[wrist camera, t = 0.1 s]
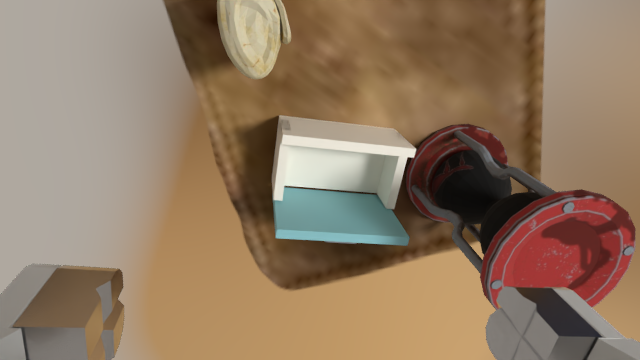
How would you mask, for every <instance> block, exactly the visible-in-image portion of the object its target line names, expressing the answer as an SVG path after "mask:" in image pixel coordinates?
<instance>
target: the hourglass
mask: <svg viewBox="0 0 640 360" xmlns="http://www.w3.org/2000/svg"><path fill="white" fill-rule="evenodd" d="M510 177H512V178H513V179H515V180H516V181H518V182H519V183H520V184H522V185H523V186H525V187H526V188H528V192H525V193H516V194H513V195H511V191H512V187H511V181H510ZM406 188H407V191H408V195H409V198H410V200H411V201H412V202H413V203H414V205H415V206H416V207H417V209H418V210H419V211H420V212H421V213H422V214H424V215H425V216H427V217H429V218H430V219H432V220H436V221H442V222H451V223H453V225H454V230H453V232H452V238H453V241H454V242H455V244H456V245H457V246H458V247H459V248H460V250H461V251H462V252H463V253H464V254H465V256H466V257H467V258H468V259H469V260H470V262H471V263H472V264H473V265H474V266H475V268H476V269H477V270H478V271H479V273H480V274H481V275H480V278H481V283H482V288H483V292H484V295H485V296H486V298H487V299H488V300H489V301H490V303H491V304H492V305H493V307H494V308H495V309H496V310H497V309H499V307H498V304H497V302H496V299H497V297H498V295H499V292H500V291H501V290H502V289H503V288H504V287H505V286H514V287H540V288H544V287H566V288H568V289H570V290H573V291H574V292H575V293H576V294H577V295H578V296H580V297H581V298H582V299H583V300H584V301H585V302H586V303H587V304H588V305H590V306H591V307H594V306H595V305H597V304H599V303H600V302H601V301H602V300H603V299H604V298H605V297H606V296H607V295H608V294H609V293H610V292H611V291H612V290H613V289H614V288H615V287H616V286H617V284H618V283H619V281H620V280H621V278H622V277H623V276H624V274H625V273H626V271H627V270H628V268H629V265H630V262H631V259H632V256H633V253H634V251H635V227H634V225H633V223H632V220H631V218H630V216H629V214H628V212H627V211H626V210H624V209H623V208H622V207H620V206H619V205H618V204H617V203H615V202H614V201H613V200H611V199H609V198H607V197H606V196H604V195H602V194H598V193H594V192H589V191H585V190H573V191H563V192H555V191H554V190H552V189H551V188H549V187H547V186H546V185H544V184H543V183H541V182H540V181H538V180H537V179H535V178H533V177H532V176H530V175H529V174H527V173H526V172H524V171H522V170H521V169H519V168H516V167H510V166H508V161H507V155H506V150H505V149H504V147H503V145H502V144H501V142H500V140H499V139H498V138H497V137H495V136H494V135H493V134H491V133H490V132H489V131H487V130H486V129H484V128H481V127H477V126H474V125H470V124H463V125H452V126H449V127H447V128H444V129H442V130H439V131H437V132H435V133H434V134H433V135H431V136H430V137H429V138H427V139H426V140H425V141H423V142H422V144H421V145H420V146H419V148H418V149H417V150H416V152H415V156H414V158H411V161H410V163H409V166H408V168H407V173H406ZM474 224H481V229H480V231H479V230H478V229H477V228H476V227H475V225H474ZM464 227H466V228H467V229H468V230H469V231H470V232H471V233H472V234H473V235H474V237H475V238H476V239H477V240H478V241H479V242H480V243H481V248H482V253H483V254H484V257H483V260H482V259H481V258H480V257H479V255H477V253H476V252H475V251H474V250H473V249H472V247H471V246H470V245H469V244H468V243H467V242H466V241H465V239H464V238H463V237H462V231H463V229H464Z"/></svg>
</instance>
